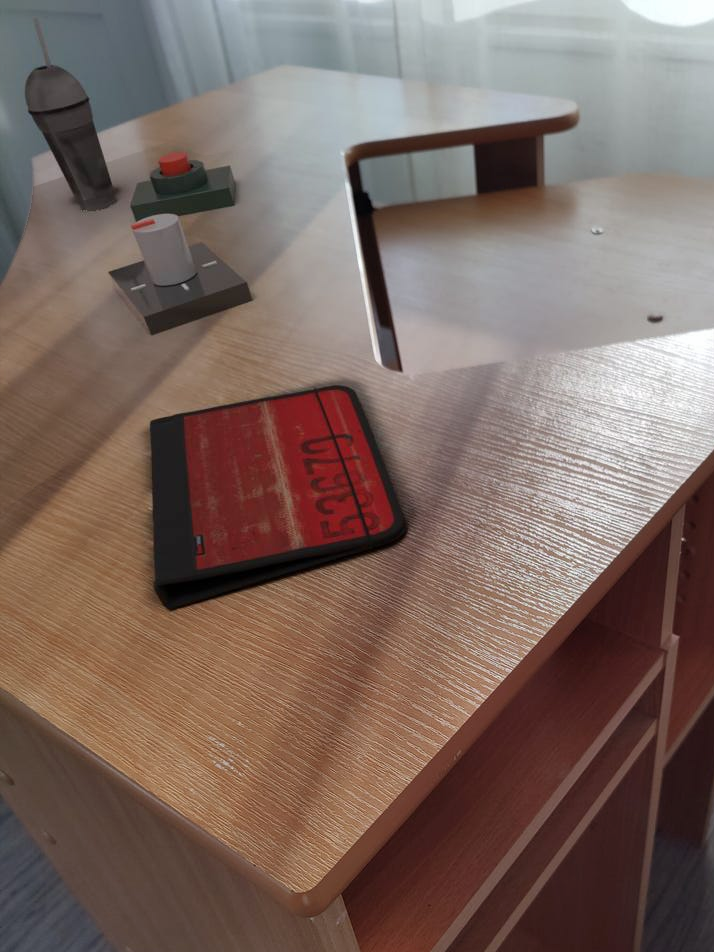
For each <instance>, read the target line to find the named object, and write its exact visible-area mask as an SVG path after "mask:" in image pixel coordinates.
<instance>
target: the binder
mask: <svg viewBox="0 0 714 952" xmlns="http://www.w3.org/2000/svg"><path fill="white" fill-rule="evenodd" d="M366 415H367V414H366V413H365V410H364V407H363V405H362V403H361V401H360V399H359V396H358V394H357V392H356V391H355V389H353V388H352V387H349V386H346V385H341V384H339V385H338V384H336V385H327V386H323V387H318V388H316V387H314V388H313V389H308V390H303V391H298V392H292V393H287V394H280V395H274V396H268V397H261V398H256V399H251V400H246V401H244V400H243V401H240V402H239V401H238V402H234V403H229V404H224V405H218V406H212V407H207V408H203V409H198V410H197V409H196V410H192V411H186V412H180V413H175V414H172V415H168V416H163V417H159V418H155V419H152V420H150V422H149V434H150V454H151V455H150V458H151V459H150V461H151V462H150V463H151V500H152V523H153V536H152V537H153V567H154V581H153V590H154V592H155V594H156V596H157V598H158V600H159V601H160V603H161V604H162V606H163V607H164V608H166V609H167V610H174V609H177V608H179V607H185V606H186V605H190V604H193V603H196V602H198V601H201V600H205V599H208V598H211V597H214V596H217V595H220V594H223V593H226V592H229V591H234V590H236V589H240V588H243V587H246V586H250V585H252V584H253V585H254V584H256V583H259V582H260V583H261V582H263V581H266V580H270V579H273V578H275V577H279V576H283V575H286V574H290V573H292V572H296V571H299V570H303V569H306V568H309V567H313V566H316V565H321V564H322V563H323V564H324V563H326V562H330V561H333V560H336V559H339V558H343V557H346V556H349V555H354V554H358V553H361V552H364V551H367V550H370V551H371V550H373V548H376V547H380V546H384V545H387V544H389V543H393V542H394V541H396V540H398V539H399V538H400V537H402V535H403V534H405V532H406V530H407V528H408V527H407V526H408V524H407V520H406V517H405V514H404V512H403V509H402V507H401V504H400V501H399V499H398V497H397V494H396V493H397V492H396V490H395V488H394V485H393V483H392V480H391V476H390V474H389V472H388V469H387V466H386V464H385V462H384V459H383V456H382V453H381V451H380V448H379V446H378V443H377V441H376V437H375V435H374V432H373V429H372V428H371V425H370V423H369V421H368V420H369V419H368V418H367V416H366Z"/></svg>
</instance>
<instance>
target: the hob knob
mask: <svg viewBox="0 0 714 952" xmlns="http://www.w3.org/2000/svg"><path fill="white" fill-rule="evenodd" d="M130 228H131V231H132V234H133V236H134V240H135V242H136V245H137V247H138V250H139V252H140V255H141V257H142V261H144V263H145V265H146V268H147V270H148V273H149V276H150V278H151V281H152V283H153V284H155V285H159V286H168V285H174V284H178V283H182V282H184V281H187V280H189V279H190V278H192V277H193V276H194V275H195V274H196V273H197V269H196V266H195V263H194V260H193V258H192V255H191V252H190V249H189V246H190V245H189V244H188V243H189V242H188V241H187V238H186V234H185V232H184V229H183V226H182V223H181V220H180V216H177V215H175V214H159V215H154V216H150V217H147V218H144V219H142V220H139V221H138V222H136V221H135V222H134V223H133V224H130Z"/></svg>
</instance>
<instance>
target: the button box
mask: <svg viewBox="0 0 714 952" xmlns="http://www.w3.org/2000/svg"><path fill="white" fill-rule="evenodd" d="M189 161H190V164H191V168H192V169H190V170H189V171H186V172H183V173H180V174H174V175H162V172H161V169H160V166H158V167H157V168H155V169H154V170H152V171H150V174H149V179H150V180H146V181H140V182H137V183H136V185H135V189H134V192H133V195H132V199H131V202H130V206H129V207H130V210H131V212H132V214H133V218H134V219H135V223H136V222H138V221H139V220H142V219H144V218H147V217H150V216H154V215H159V214H175V215H177V216H178V217H182V216H188V215H192V214H197V213H203V212H210V211H214V210H219V209H225V208H229V207H235V204H236V203H235V201H236V180H235V178H234V173H233V171H232V167H231V165H225V166H220V167H215V168H209V169H206V168H205V164H204V162H203V161H200V160H197V159H189Z"/></svg>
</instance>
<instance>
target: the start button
mask: <svg viewBox="0 0 714 952" xmlns="http://www.w3.org/2000/svg"><path fill="white" fill-rule="evenodd" d="M189 160H190V158H189V156H188V153H187V152H184V151H183V152H182V151H179V152H178V151H177V152H172V153H168V154H165V155H162V156H161V157H159V158H158V159H157V163H158V165H159V166H158V167H160V169H161V172H162V175H174V174H180V173H183V172H186V171H189V170H190V169H192V168H191V164H190V161H189Z"/></svg>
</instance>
